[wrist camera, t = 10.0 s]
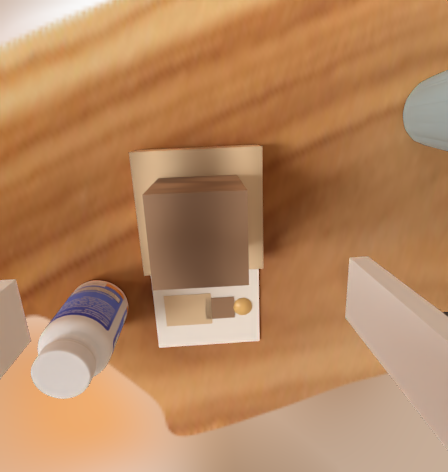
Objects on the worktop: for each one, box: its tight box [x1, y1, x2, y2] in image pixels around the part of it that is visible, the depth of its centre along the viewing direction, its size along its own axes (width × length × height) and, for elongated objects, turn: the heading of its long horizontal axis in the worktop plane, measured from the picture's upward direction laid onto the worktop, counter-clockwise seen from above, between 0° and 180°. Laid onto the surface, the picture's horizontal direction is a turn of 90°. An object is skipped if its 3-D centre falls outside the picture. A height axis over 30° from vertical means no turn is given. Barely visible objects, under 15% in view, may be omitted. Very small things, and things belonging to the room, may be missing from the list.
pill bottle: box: [31, 280, 128, 399], centre depth 28 cm, size 5×5×10 cm
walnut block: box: [142, 175, 249, 291], centre depth 24 cm, size 6×6×7 cm
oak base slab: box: [129, 144, 263, 276], centre depth 28 cm, size 10×10×3 cm
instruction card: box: [151, 269, 260, 348], centre depth 33 cm, size 10×8×1 cm
